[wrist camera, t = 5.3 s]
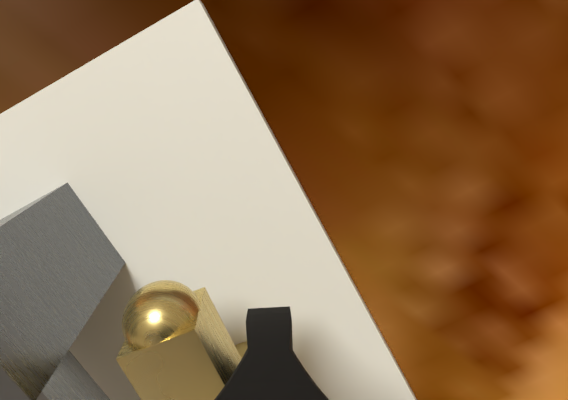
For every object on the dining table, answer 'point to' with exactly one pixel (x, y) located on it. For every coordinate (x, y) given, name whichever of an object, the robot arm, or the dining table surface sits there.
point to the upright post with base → (71, 383)
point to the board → (192, 203)
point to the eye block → (48, 286)
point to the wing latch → (175, 344)
